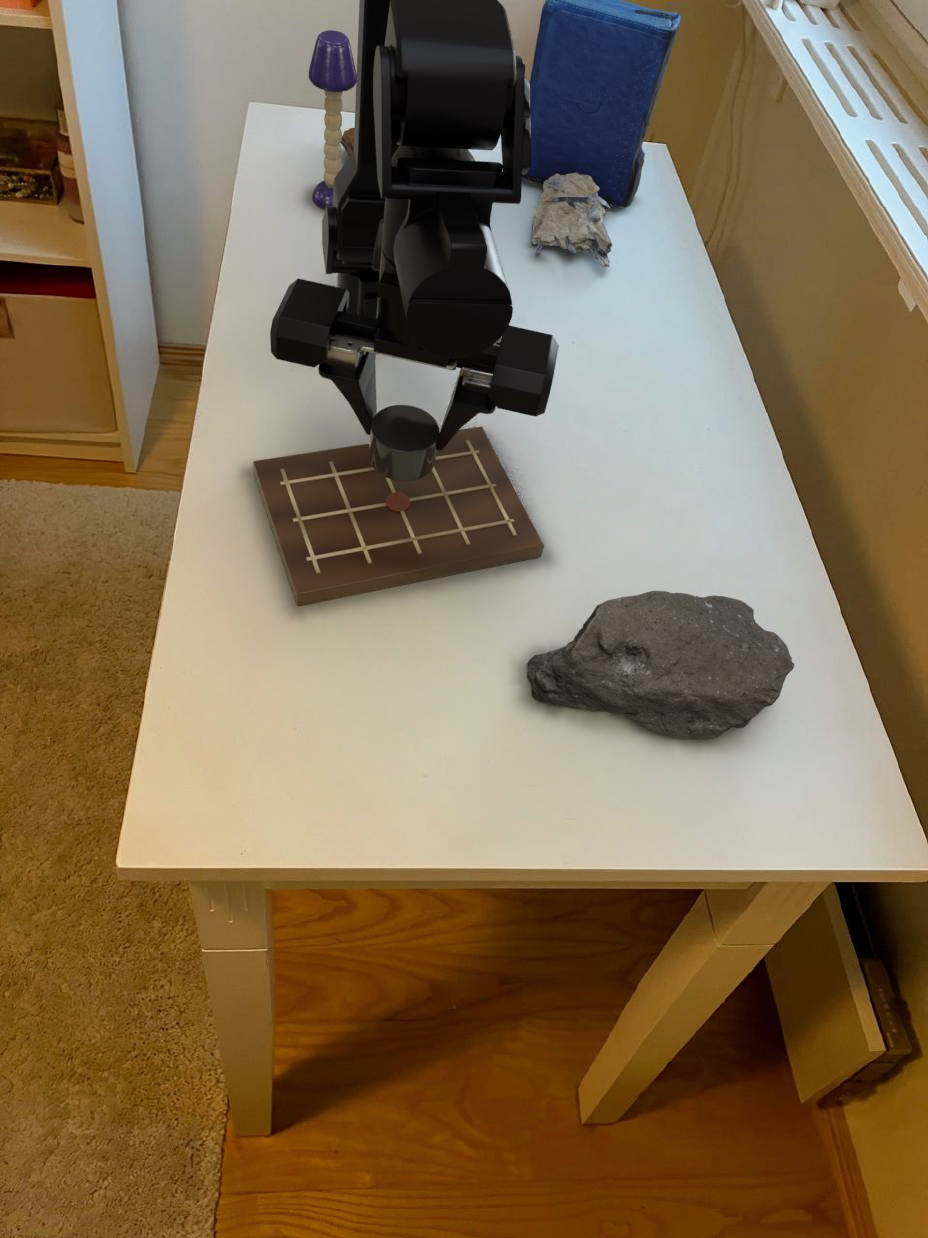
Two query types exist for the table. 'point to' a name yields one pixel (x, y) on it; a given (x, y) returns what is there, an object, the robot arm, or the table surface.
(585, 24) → the book
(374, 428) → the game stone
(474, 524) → the game board
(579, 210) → the mineral specimen
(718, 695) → the stone
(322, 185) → the toy lamp
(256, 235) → the table surface
